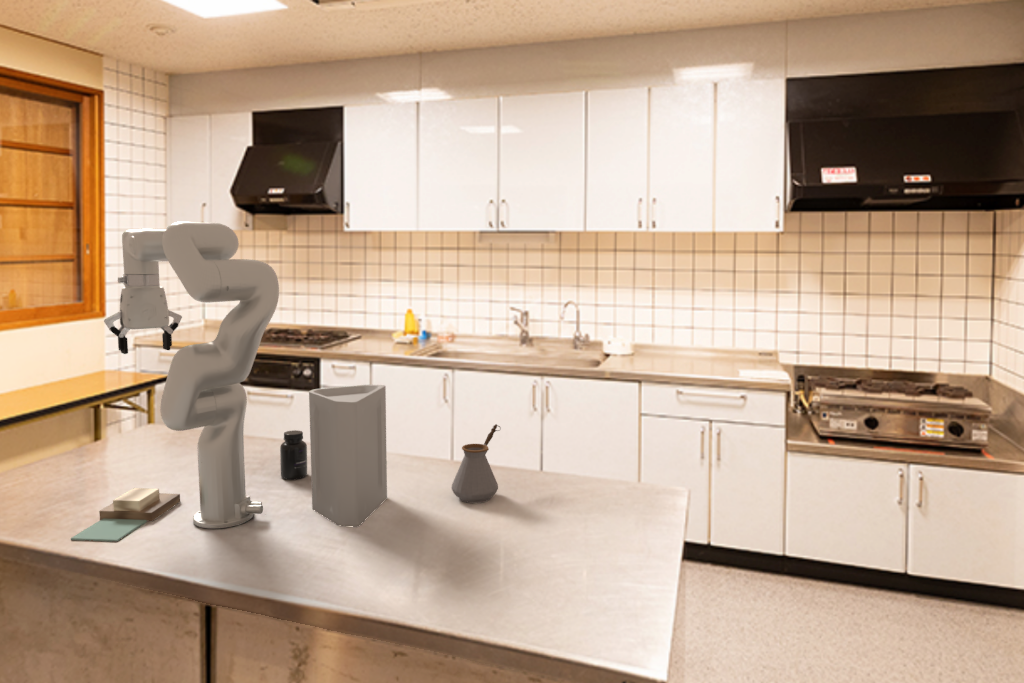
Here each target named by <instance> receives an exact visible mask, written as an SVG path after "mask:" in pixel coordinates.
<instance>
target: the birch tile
mask: <svg viewBox="0 0 1024 683" xmlns="http://www.w3.org/2000/svg"><path fill="white" fill-rule="evenodd" d="M159 493H160V488H146V487H144V488H143V487H134V488H132V489H130V490H128V491H127V492H125V493H123V494H120V496H118V497H116V498H115V499H112V503H113V507H114V511H141V510H143V509H144V508H146V507H147V506H149V505H151V504H152V503H154V502H155V501H157V500H158V499H160V498H159Z"/></svg>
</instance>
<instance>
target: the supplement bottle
mask: <svg viewBox="0 0 1024 683" xmlns="http://www.w3.org/2000/svg"><path fill="white" fill-rule="evenodd" d="M303 433H304V432H303V431H302V430H295V429H294V430H287V431H285V432H284V433H283V442H282V443H281V444H280V447H279V448H280V449H279V451H280V453H279V454H280V455H279V458H280V459H279V460H280V477H281V478H282V479H283V480H290V481H292V480H293V481H294V479H296V480H300V479H304V478H306V476H307V475H308V445H307V443H306V442H305V441H304V435H303Z"/></svg>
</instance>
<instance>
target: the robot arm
mask: <svg viewBox="0 0 1024 683" xmlns="http://www.w3.org/2000/svg"><path fill="white" fill-rule="evenodd" d="M121 242H122V243H121V244H122V247H121V248H122V260H123V274H122V276H118V277H117V283H119V284H123V286H124V287H122V288H121V292H120V300H119V311H118V312H116V313H114V314H112V315H110V316H108V317H106V318H105V319H103V322H104V324H105V325H106V327H107V328H108V330H109V331H110V332H112V334H113V335H115V336H116V337H117V344H118V348H117V349H118V351H120V352H121V354H123V355H128V354H129V345H128V337H127V336H126V335H127V334H128V333H129V331H130V330H147V329H149V330H150V329H161V330H162V331H163V333H162V334H161V335H162V348H163V350H165V351H171V347H172V346H173V340H172V338H173V336H172V334H174V332H175V330H177V328H178V327H179V324H180V323H181V320H182V318H183V315H181V314H178V313H177V312H174V311H171V310H170V309H169V307H168V301H167V295H166V291H165V288H164V286H160V285H161V284H160V269H159V262H168V263H169V265H170V266H171V268H172V270H173V271H174V273H175V275H177V276H176V277H177V278H178V279H179V280H180V282H181V284H182V286H183V288H184V289H185V290H186V292H187V294H188V295H189V296H190V297H191V298H192V299H193V300H195V301H198V302H200V303H220V302H223V303H224V302H225V303H226V302H239V303H238V304H237V305H236V306H235V307H233V308H232V309H231V310H230V311H229V312H228V313H227V314H226V315H225V317H224V318H223V320H222V321H221V323H220V326H219V329H218V333H217V334H216V336H215V338H214V339H213V340H211V341H209V342H204V343H194V344H189V345H186V346H183V347H181V348H180V349H179V350H178V351H177V352H175V354H174V356H173V358H172V360H171V363H170V366H169V370H168V373H167V377H166V380H165V384H164V387H163V391H162V394H161V398H160V406H159V407H160V410H159V411H160V416H161V420H162V423H163V424H164V425H165V426H166V427H167V428H168V429H170V430H173V431H174V432H175V431H176V432H181V431H188V430H194V429H198V428H202V430H201V433H200V435H199V437H198V442H197V446H196V447H197V466H198V467H197V468H198V485H199V486H198V487H199V491H198V492H199V506H200V509H199V510H198V511H196V513H194V515H193V517H192V519H193V524H194V525H195V526H196V527H199V528H204V529H213V530H214V529H225V528H230V527H235V526H239V525H241V524H245V523H246V522H248V521H250V520H251V519H252V518H253V517H254V515H261V514H262V513H263V511H264V506H263V502H262V501H259V502H258V501H252V500H251V495H250V494H246V492H247V491H246V490H247V489H246V473H245V472H246V468H245V442H244V440H245V439H244V432H245V431H244V428H245V427H244V426H245V417H246V411H247V405H248V403H247V402H248V399H247V398H248V397H247V392H246V390H245V388H244V387H243V385H242V384H241V383H242V382H245V380H246V379H247V378H248V377H249V375H250V373H251V370H252V367H253V365H254V362H255V360H256V356H257V353H258V350H259V348H260V345H261V341H262V337H263V336H264V334H265V331H266V329H267V327H268V325H269V323H270V322H271V320H272V318H273V316H274V314H275V312H276V309H277V306H278V303H279V297H280V285H279V284H280V283H279V278H278V275H277V273H276V271H275V269H273V267H272V266H271V265H269V264H268V263H266V262H264V261H260V260H258V259H257V260H256V259H244V258H243V259H242V258H241V259H238V258H236V259H235V258H234V259H233V257H234V256H235V254H236V253H237V252H238V249H239V244H240V243H239V239H238V236H237V233H235V231H234V230H233V229H232V228H231V227H229V226H227V225H225V224H222V223H219V222H202V221H177V222H173V223H171V224H170V225H168V226H167V228H165V229H164V228H163V229H160V228H158V229H157V228H156V229H155V228H154V229H153V228H142V229H141V228H139V229H127V230H125V231H123V232H122V235H121ZM170 318H173V320H172V322H171V323H170ZM118 320H119V323H120V327H119V328H117V327H115V325H114V322H115V321H118ZM169 324H170V325H169Z"/></svg>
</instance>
